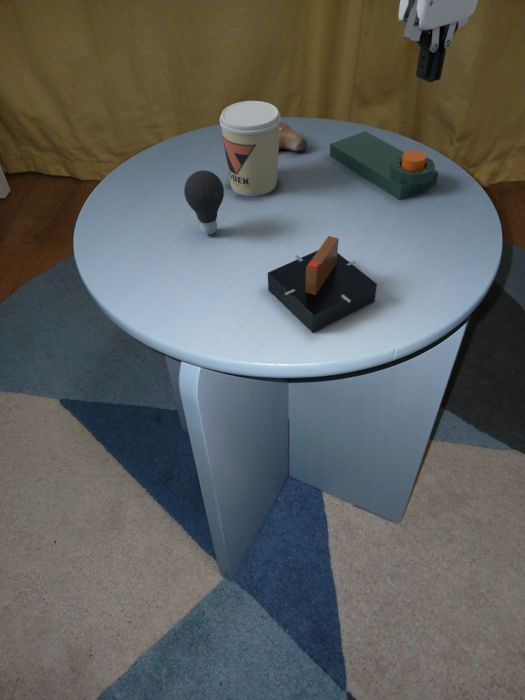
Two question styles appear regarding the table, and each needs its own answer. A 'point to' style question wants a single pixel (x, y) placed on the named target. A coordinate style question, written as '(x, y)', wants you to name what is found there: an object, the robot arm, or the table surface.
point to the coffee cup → (251, 146)
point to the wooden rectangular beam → (321, 265)
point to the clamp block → (321, 291)
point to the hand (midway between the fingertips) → (427, 77)
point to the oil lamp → (290, 139)
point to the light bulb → (205, 198)
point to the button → (413, 160)
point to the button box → (382, 164)
